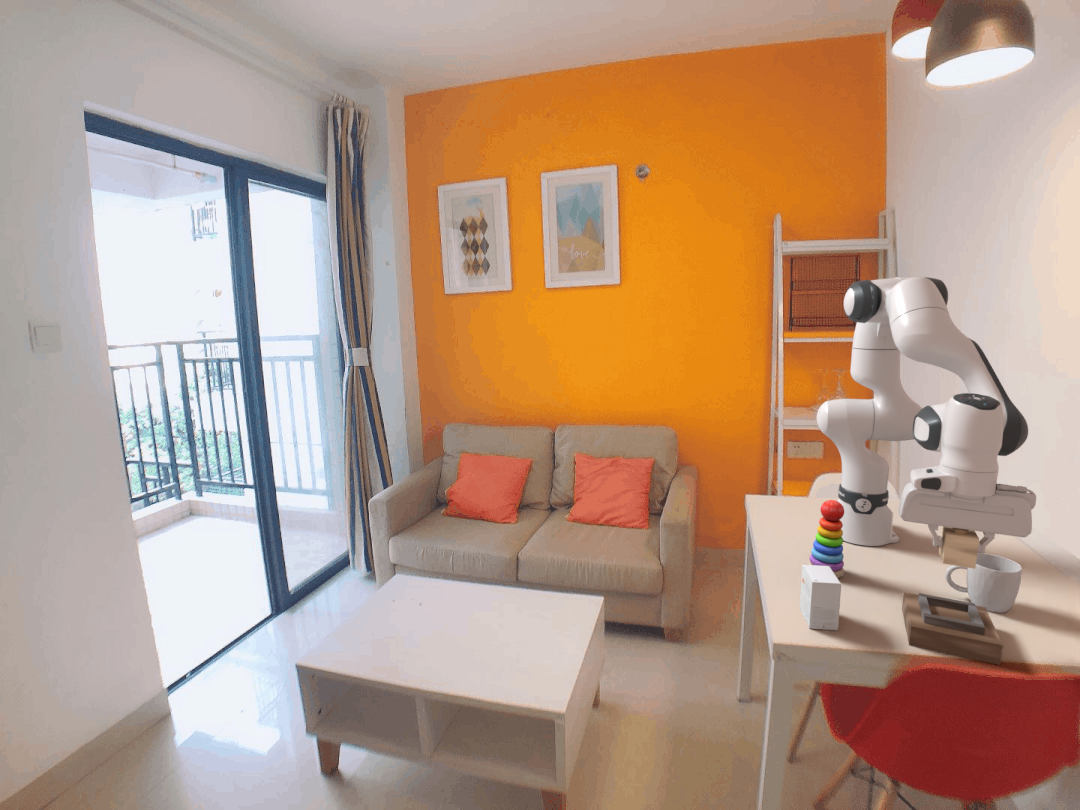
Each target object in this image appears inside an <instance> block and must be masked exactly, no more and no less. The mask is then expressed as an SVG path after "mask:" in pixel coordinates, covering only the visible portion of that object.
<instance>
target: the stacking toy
mask: <svg viewBox="0 0 1080 810" xmlns="http://www.w3.org/2000/svg"><path fill="white" fill-rule="evenodd" d="M820 513H821V516H822V517H820V519H819V521H818V524H819V525H818V526H817V528H816V529H817V533H816V534H815V540H814V541H813V544H812V545H813V547H812V548H811V551H810V553H811V554H810V555H809V561H808V563H807V565H819V566H830V568H831V570H832V571H833V573H834V574H835V575H836V577H837V578H838V579H840V578H842V577H843V576H844V574H845V570H844V566H845V562H844V553H843V551H844V546H843V544H844V541H843V538H842V537H841V536H842V535H843V531H842V529H841V528H842V526H843V524H842V522H841V521H840V519H841V518H842V517H843V515H844V507H843V506H842V504H841V503H839V502H838V501H837V500H834V499H828V500H826V501H824V502H822V504H821V506H820Z"/></svg>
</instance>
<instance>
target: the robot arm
mask: <svg viewBox="0 0 1080 810" xmlns="http://www.w3.org/2000/svg"><path fill="white" fill-rule="evenodd" d="M845 291H846V292H845V295H844V298H843V309H844V314H845V316H846V317H847V319H848V320H850V321H851V322H854V323H856V325H855V328H854V333H853V338H852V339H853V340H852V347H851V355H850V356H851V359H850V372H849V373H850V376H851V378H852V379H853V381H854V382H856V383H858V384H860V385H861V386H863V387H865V388H867V389H869V390H871V391H873V398H869V399H867V398H864V399H863V398H836V399H831V400H826V401H824V402H823V403H822V404H821V405H820V407H819V408H818V410H817V412H816V418H815V419H816V423H817V427H818V429H819V430H820V431H821V433H823V434H824V436H826V437H827V438H829V439H830V440H831V441H832V442H833V444H834V445H835V446H836V448H837V450H838V452H839V454H840V459H841V460H840V461H841V482H840V484H839V487H838V490H837V491H838V494H837V495H838V496H837V497H838V499H837V500H836V501H838V502H839V503H841V504H842V506H843V507H844V515H843V517H842V518H841V519H840V521H841V522H842V524H843V526H842V528H841V529H842V531H843V535H842V536H841V537H842V538H843V542H846V543H849V544H855V545H860V546H866V547H867V546H868V547H880V546H884V545H887V544H892V543H894V544H895V543H899V542H900V537H899V536H898V535H897V534H896V533H895V531H894V530H893V521H894V512H893V511H892V510H891V509H890V508H889V506H888V504H889V499H890V498H889V492H890V491H889V490H888V485H889V482H888V481H889V472H890V465H889V462H888V460H887V459H886V458H885V457H884V456H882V455H881V454H879V453H878V452H876V451H874V450H872V449H869V448H868V447H866V441H885V442H886V441H887V442H903V441H904V442H905V441H911V440H912V441H913V440H914V441H916V443H918V445H919V446H920V447H922V448H923V449H925V450H927V451H932V452H938V453H940V454H941V457H940V460H939V464H938V465H934V466H933V465H932V466H928V467H921V468H915V469H911V470H910V475H909V479H910V482H907V484H906V485H905V486H904V488H903V490H902V493H901V496H900V501H899V507H898V514H899V516H900V518H901V519H902V520H903V521H904V522H910V523H916V524H923V525H927V526H928V527H927V528H928V530H929V532H930V533H931V535H932V537H933V539H932V546H933V547H935V548H936V547H937V548H940V547H943V543H944V539H943V536H941V535H938V534H937V532H936V531H939V527H942V526H944V527H951V528H958V529H966V530H973V531H975V532H982V534H983V536H982V538H981V539H979V545H978V552H977V553H982V554H984V553H985V552H986V547H987V546H988V545H989V544H990V543H991V542H993V541H994V540H995V536H996V534H997V535H1004V536H1011V537H1018V538H1027V537H1028V536H1029V535H1031V534H1032V528H1033V514H1032V511H1033V509H1034V508H1035V507H1036V504H1037V495H1036V493H1035V492H1034V491H1033V490H1031V489H1029V488H1027V487H1026V486H1022V485H1017V486H1016V485H1011V484H1010V485H1009V484H1005V483H998V475H999V469H1000V468H999V466H1000V465H999V463H998V456H1000V457H1006V456H1008V455H1011V454H1013V453H1014V452H1015V451H1017V450H1019V448H1021V447H1022V446H1023V445H1024V443H1025V442H1026V441H1027V440H1028V436H1029V425H1028V423H1027V420H1026V418H1025V417H1024V415H1023V413H1022V412H1021V411H1020V410H1019V409H1018V407H1016V405H1015V404H1014V403H1013V402H1012V400H1011V399H1010V397H1009V395H1008V394H1007V392H1006V390H1005V389H1004V386H1003V385H1002V383H1001V381H1000V379H999V377H998V376H997V374H996V372H995V370H994V368H993V367H992V364H991V363H990V361H989V359H988V358H987V356H986V354H985V352H984V350H983V349H982V348H981V346H980V345H979V344H978V342H976V341H975V340H974V339H972V338H969V337H968V336H967V335H965V334H964V333H963V331H961V330H960V329H959V328H958V327H957V326H956V325H955V323H954V321H953V320H952V317H951V315H950V312H949V309H948V307H947V306H948V301H949V292H948V291H949V289H948V288H947V285H946V284H945V283H944V281H943V280H941V279H938V278H934V277H927V276H924V277H923V276H914V277H913V276H912V277H911V276H907V277H906V276H903V277H902V276H899V277H898V276H896V277H893V278H892V277H890V278H889V277H888V278H878V279H872V280H869V279H863V280H858V281H854V282H853V283H851V285H850V286H848V288H847V289H846V290H845ZM901 354H902V355H904V356H905V357H907V358H908V359H910V360H913V361H915V362H919V363H921V364H922V363H924V364H928V365H931V366H935V367H938V368H941V369H943V370H946V371H948V372H951V373H953V374H954V375H956V376H958V377H959V378H960V379H961V381H963V384H964V385H965V387H966V389H967V391H968V392H966V393H964V392H963V393H958V394H954V395H953V396H951V397H950V398H949V400H948V401H946V402H943V403H936V404H931V405H925V406H924V407H922V406H921V405H920V404H918V403H917V402H916V401H914V400H913V399H912V398H911V397H910V396H909V395H908V394H907V392H906V390H905V389H904V387H903V384H902V382H901V375H900V366H901V364H900V363H901V361H900V360H901ZM985 554H986V553H985Z"/></svg>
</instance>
